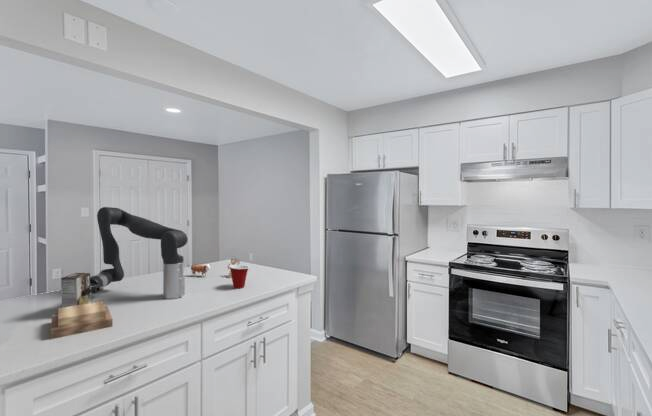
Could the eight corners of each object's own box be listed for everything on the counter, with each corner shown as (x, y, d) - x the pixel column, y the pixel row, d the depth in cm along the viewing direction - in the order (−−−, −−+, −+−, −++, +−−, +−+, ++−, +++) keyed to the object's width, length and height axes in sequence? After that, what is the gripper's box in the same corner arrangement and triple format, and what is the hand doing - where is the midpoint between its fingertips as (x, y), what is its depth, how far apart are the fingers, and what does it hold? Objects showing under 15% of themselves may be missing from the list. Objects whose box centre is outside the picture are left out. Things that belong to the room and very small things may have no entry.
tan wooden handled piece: (228, 278, 197) (228, 259, 197) (225, 277, 200) (225, 258, 200) (241, 275, 204) (241, 257, 204) (238, 274, 207) (238, 256, 206)
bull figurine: (208, 278, 197) (209, 265, 197) (189, 276, 200) (189, 263, 200) (212, 276, 201) (212, 263, 201) (193, 275, 204) (193, 262, 204)
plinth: (107, 312, 136) (107, 299, 136) (112, 326, 123) (112, 311, 122) (52, 322, 125) (52, 307, 125) (50, 339, 111) (50, 322, 111)
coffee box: (76, 308, 141) (75, 272, 141) (91, 308, 142) (91, 272, 141) (60, 316, 132) (60, 277, 132) (77, 315, 133) (76, 277, 132)
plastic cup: (252, 288, 177) (252, 266, 177) (232, 291, 171) (233, 268, 170) (245, 283, 186) (245, 263, 186) (226, 286, 180) (226, 265, 179)
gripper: (77, 276, 149) (53, 285, 133) (111, 275, 152) (92, 284, 135) (78, 291, 150) (54, 303, 133) (111, 290, 152) (92, 302, 136)
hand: (73, 294), depth 134 cm, fingers closed on coffee box, 6 cm apart
